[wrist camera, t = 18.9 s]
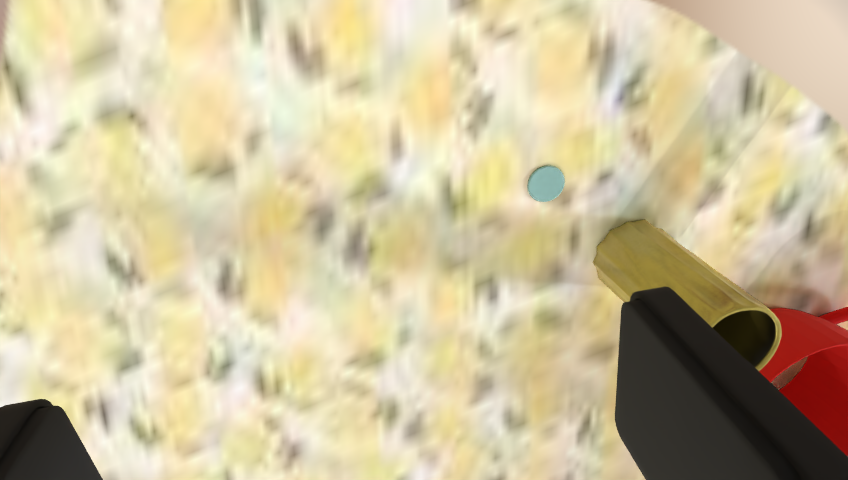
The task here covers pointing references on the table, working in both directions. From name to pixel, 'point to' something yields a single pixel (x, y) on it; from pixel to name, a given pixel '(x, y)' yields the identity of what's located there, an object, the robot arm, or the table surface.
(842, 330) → the ceramic cup
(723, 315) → the vase
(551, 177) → the button
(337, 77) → the table surface
